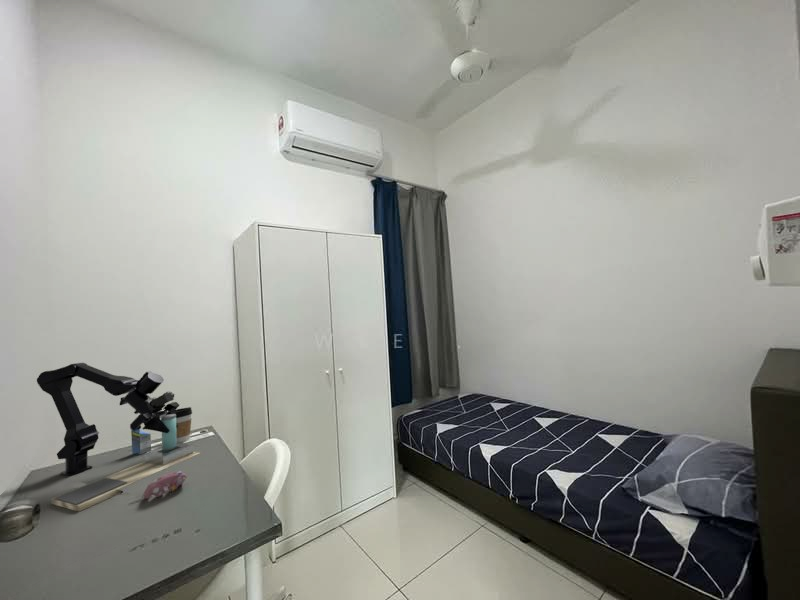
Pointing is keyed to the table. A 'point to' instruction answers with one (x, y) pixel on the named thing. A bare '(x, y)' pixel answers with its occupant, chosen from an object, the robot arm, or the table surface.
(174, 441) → the teal dowel
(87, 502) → the birch board
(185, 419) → the coffee cup
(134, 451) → the label tape box
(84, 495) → the dark gray rubber pad
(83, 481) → the table surface
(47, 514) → the table surface
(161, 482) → the video game controller
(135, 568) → the table surface
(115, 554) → the table surface
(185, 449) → the square metal frame plate
